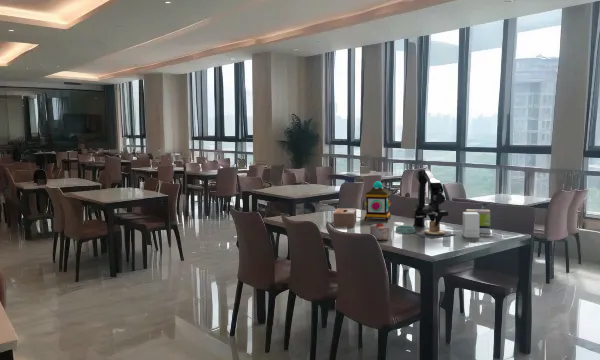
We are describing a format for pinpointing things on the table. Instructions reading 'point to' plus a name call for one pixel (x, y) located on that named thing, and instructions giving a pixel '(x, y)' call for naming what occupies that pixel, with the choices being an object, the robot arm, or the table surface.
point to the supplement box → (470, 224)
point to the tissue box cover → (344, 217)
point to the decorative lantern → (377, 202)
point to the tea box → (482, 220)
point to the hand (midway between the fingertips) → (434, 225)
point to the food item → (379, 231)
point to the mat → (434, 235)
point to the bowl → (405, 229)
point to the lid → (434, 228)
